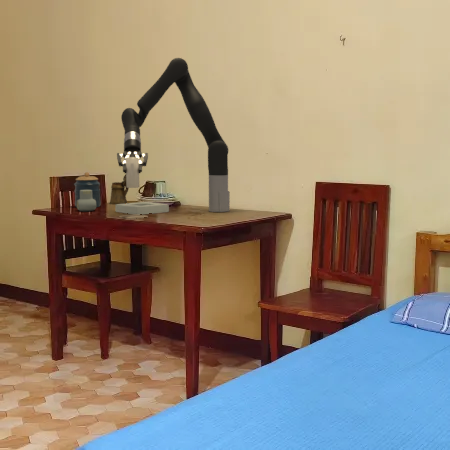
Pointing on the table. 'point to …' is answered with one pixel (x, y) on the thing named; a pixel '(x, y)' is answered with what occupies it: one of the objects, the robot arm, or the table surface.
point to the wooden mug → (119, 192)
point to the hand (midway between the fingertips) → (132, 171)
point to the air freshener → (86, 201)
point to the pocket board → (142, 208)
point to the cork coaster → (133, 216)
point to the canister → (87, 187)
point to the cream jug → (132, 172)
